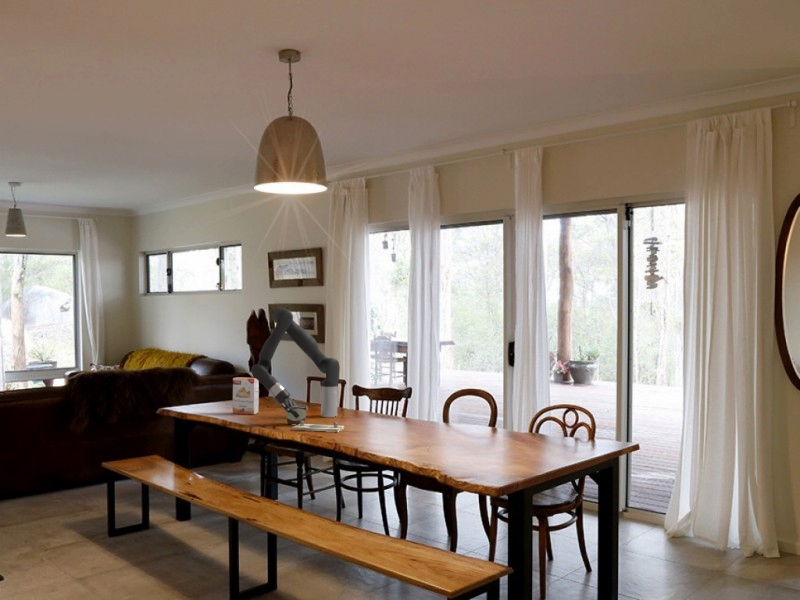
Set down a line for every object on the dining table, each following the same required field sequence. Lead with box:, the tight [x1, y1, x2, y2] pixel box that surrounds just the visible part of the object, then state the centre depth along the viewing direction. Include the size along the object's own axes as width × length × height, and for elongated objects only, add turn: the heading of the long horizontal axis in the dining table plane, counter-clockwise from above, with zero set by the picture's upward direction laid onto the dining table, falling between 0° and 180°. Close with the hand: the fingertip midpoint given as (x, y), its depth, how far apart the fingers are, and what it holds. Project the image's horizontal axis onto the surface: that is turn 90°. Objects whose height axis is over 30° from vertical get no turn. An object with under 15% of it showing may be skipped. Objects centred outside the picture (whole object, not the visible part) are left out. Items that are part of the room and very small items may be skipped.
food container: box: [285, 404, 308, 426], centre depth 361 cm, size 12×6×10 cm, turn 84°
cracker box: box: [232, 376, 260, 415], centre depth 396 cm, size 14×6×21 cm, turn 73°
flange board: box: [291, 421, 345, 433], centre depth 346 cm, size 12×24×4 cm, turn 78°
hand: (300, 416), depth 361 cm, fingers closed on food container, 6 cm apart
